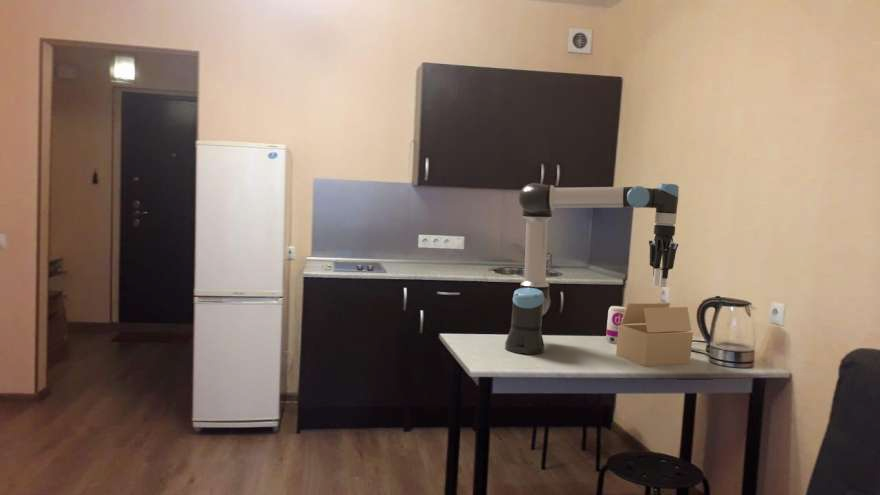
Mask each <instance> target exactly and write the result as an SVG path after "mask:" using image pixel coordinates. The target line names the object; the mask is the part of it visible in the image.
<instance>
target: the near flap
mask: <svg viewBox="0 0 880 495" xmlns="http://www.w3.org/2000/svg"><path fill="white" fill-rule="evenodd" d="M688 308H689V307H688V306H678V307H676V306H674V307H673V306H672V307H670V306H669V307H666V308H644V313H645V319H646V323H645V324H646V326H647V332H674V331H690V332H692V326H691V320H690V313H689V309H688Z"/></svg>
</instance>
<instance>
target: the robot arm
mask: <svg viewBox="0 0 880 495" xmlns="http://www.w3.org/2000/svg"><path fill="white" fill-rule="evenodd" d="M657 185H658V186H657V188H656V187H655V188H650V187H649V188H648V187H644V186H640V185H637V186H600V187H599V186H590V187H589V186H588V187H586V186H584V187H583V186H582V187H581V186H580V187H555V186H554V185H553V184H544V183H537V182H534V183H533V182H532V183H529V184H526V185H525V186H523V187H522V189H521V190H520V192H519V194H518V202H519V205H520V207H521V208H522V218H523V219H524V220H525V222H526V223H525V253H524V254H525V255H524V256H525V257H524V280H523V281H522V282H520V286H519V287H520V288H517V289H515V290H514V292H513V297H512V308H511V311H512V312H511V324H510V329H509V333H508V335H507V338H506V340H505V343H504V344H505V345H504V348H505V350H506V351H510V352H512V351H513V352H512V353H515V352H517V353H516V354H521V353H525V354H524V355H539V353H540V354H543V353H544V352H545V344H544V338H543V335H542V325H543V324H542V322H543V316H544V315H545V314H546V313H547V312H548V311H549V309H550V306H551V296H550V283H548V282H547V280H546V279H547V277H546V276H547V254H548V253H547V252H548V249H547V248H548V227H549V226H548V222H549V221H550V220H551V219H552V218H553V210H554V209H557V208H559V209H560V208H565V209H567V208H568V209H571V208H573V209H575V208H579V209H580V208H581V209H582V208H587V209H588V208H593V209H594V208H636V209H639V208H640V209H641V208H645V209H655V217H654V223H655V225H654V228H653V234H654V237H653V239H652V240H648V244H649V266H650V267H652V269H653V271H652V272H653V273H652V278H653V280H652V281H653V282H652V286H657V287H660V288H666V287H667V279H668V277H669V270H673V269H674V264H675V260H676V259H675V258H676V254H677V249H678V247H679V243H675V242H674V239H673V237H674V236H675V234H676V226H675V225H676V223H677V222H676V221H677V213H678V212H677V211H678V205H679V204H678V203H679V192H680V191H679V190H680V189H679V188H680V187H679V186H678V185H677V184H676V183H658V184H657Z"/></svg>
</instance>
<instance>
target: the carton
mask: <svg viewBox="0 0 880 495" xmlns="http://www.w3.org/2000/svg"><path fill="white" fill-rule="evenodd" d="M693 333H694V332H693V331H674V332H647V326H646V323H637V324H627V325H619V327H618V339H617V344H616V351H615V352H616V353H615V355H616V356H617V357H620V358H622V359H625V360H627V361H629V362H632V363H635V364H637V365H639V366H642V367H656V366H657V367H658V366H670V365H671V366H672V365H687V364H688V365H689V364H690V363H691V357H692V356H691V354H692V346H693V345H692V344H693V343H692V342H693V336H694V335H693Z"/></svg>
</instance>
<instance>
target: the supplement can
mask: <svg viewBox="0 0 880 495" xmlns="http://www.w3.org/2000/svg"><path fill="white" fill-rule="evenodd" d="M625 309H626V307H625V306H621V305H620V306H619V305H611V306H610V307H609V308H608V312H607V321H606V322H607V323H606V333H605V334H606V337H605V340H606V341H607V343H610V344H615V345H617V339H618V327H619V325H628V324H621V320H622V318H623V315H624V312H625Z"/></svg>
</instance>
